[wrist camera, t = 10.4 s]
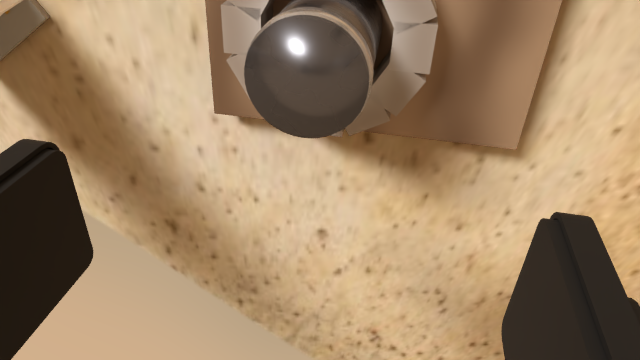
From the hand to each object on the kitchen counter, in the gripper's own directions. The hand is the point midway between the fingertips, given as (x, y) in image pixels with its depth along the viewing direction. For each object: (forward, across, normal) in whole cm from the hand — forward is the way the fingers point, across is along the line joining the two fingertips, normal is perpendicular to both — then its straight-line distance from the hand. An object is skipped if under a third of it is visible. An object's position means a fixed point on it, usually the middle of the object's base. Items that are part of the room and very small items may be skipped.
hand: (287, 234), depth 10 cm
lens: (+18, +2, +1) cm, 19 cm away
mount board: (+21, 0, +1) cm, 21 cm away
